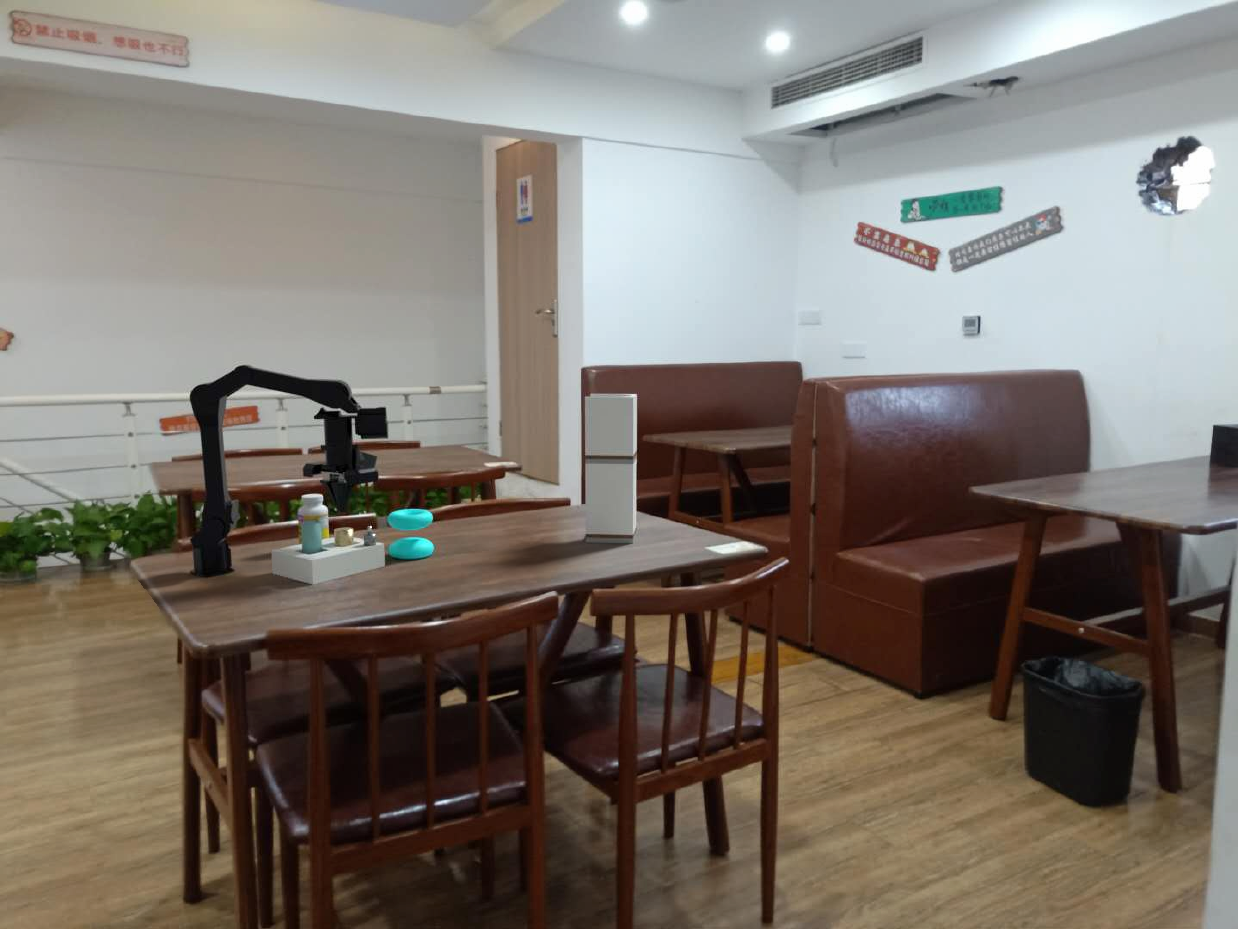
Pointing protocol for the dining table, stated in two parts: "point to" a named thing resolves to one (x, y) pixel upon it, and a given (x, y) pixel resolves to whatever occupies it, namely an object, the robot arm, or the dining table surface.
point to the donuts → (412, 545)
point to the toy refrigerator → (610, 467)
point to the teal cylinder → (311, 537)
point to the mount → (327, 561)
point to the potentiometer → (369, 538)
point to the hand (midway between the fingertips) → (342, 512)
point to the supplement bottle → (313, 513)
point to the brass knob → (344, 537)
